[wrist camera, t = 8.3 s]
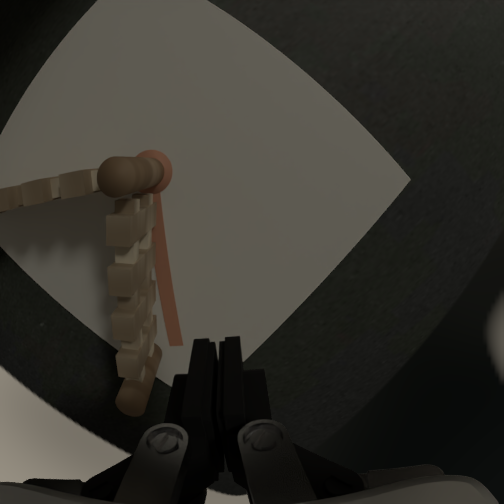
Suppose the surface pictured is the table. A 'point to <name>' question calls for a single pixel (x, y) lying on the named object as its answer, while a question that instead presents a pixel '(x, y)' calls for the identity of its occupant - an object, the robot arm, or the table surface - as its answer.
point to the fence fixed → (87, 182)
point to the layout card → (191, 172)
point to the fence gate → (134, 298)
